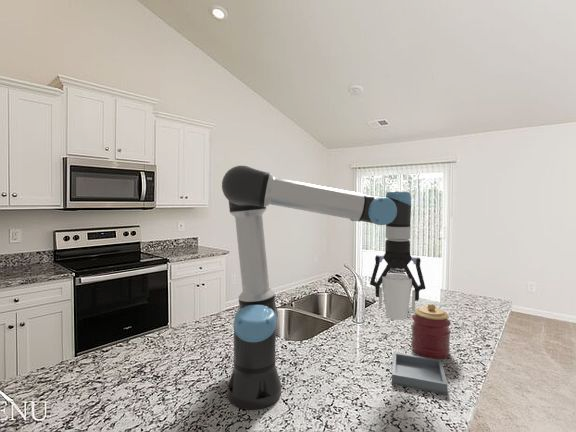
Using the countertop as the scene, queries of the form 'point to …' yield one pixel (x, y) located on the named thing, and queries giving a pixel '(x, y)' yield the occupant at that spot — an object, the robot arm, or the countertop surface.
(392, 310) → the foam cup
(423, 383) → the tray
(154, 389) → the countertop surface
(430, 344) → the canister
